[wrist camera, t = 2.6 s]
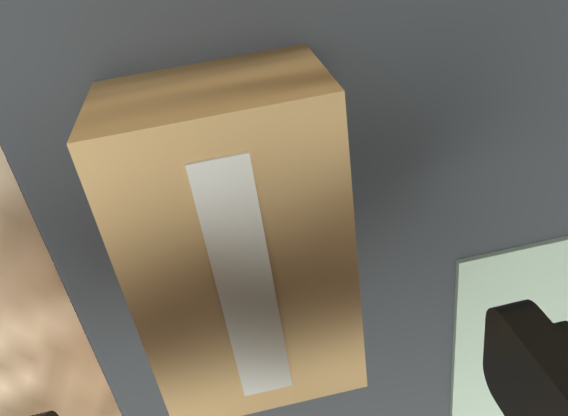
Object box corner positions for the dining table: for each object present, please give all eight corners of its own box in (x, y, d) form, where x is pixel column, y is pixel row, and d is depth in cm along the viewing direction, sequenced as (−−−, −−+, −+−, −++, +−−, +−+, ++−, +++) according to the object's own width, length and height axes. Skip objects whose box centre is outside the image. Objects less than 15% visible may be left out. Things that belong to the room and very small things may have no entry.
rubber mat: (-51, 5, 12) (-64, 13, 11) (866, -150, 13) (902, -151, 13) (172, 513, 22) (172, 532, 22) (670, 391, 24) (684, 406, 23)
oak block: (92, 82, 12) (65, 146, 9) (305, 43, 13) (345, 92, 10) (175, 333, 17) (175, 434, 14) (334, 299, 17) (368, 389, 14)
